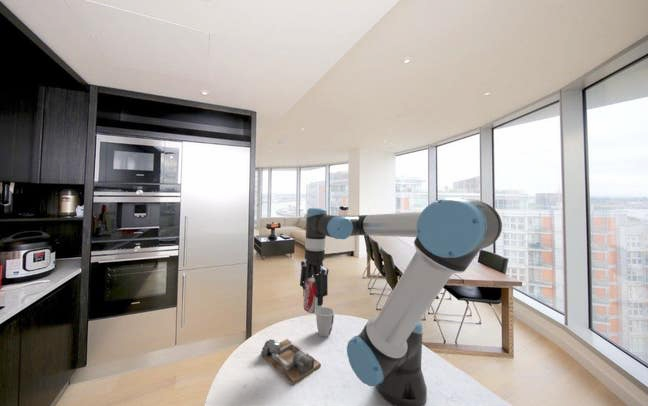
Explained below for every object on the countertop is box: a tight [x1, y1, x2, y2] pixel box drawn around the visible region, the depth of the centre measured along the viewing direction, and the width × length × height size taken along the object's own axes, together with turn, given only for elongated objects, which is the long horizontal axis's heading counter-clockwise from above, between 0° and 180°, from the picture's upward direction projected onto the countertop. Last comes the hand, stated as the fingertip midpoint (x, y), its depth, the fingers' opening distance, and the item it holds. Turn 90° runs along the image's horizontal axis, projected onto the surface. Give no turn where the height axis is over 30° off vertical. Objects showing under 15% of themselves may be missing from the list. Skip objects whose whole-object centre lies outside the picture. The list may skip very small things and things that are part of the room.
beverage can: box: [303, 276, 317, 314], centre depth 87 cm, size 6×6×12 cm
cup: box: [315, 306, 335, 338], centre depth 103 cm, size 8×8×10 cm
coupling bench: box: [260, 338, 322, 386], centre depth 84 cm, size 20×12×5 cm, turn 45°
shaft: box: [261, 339, 282, 358], centre depth 86 cm, size 6×6×4 cm
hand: (312, 309), depth 87 cm, fingers closed on beverage can, 6 cm apart
